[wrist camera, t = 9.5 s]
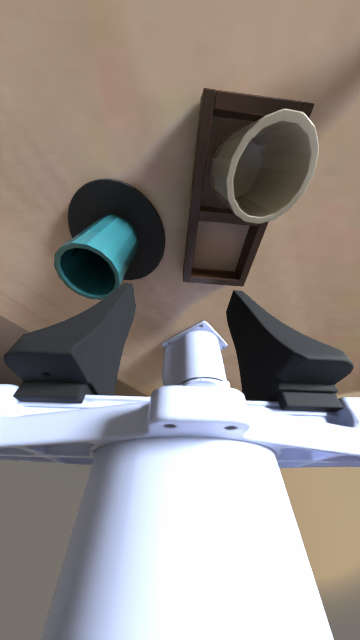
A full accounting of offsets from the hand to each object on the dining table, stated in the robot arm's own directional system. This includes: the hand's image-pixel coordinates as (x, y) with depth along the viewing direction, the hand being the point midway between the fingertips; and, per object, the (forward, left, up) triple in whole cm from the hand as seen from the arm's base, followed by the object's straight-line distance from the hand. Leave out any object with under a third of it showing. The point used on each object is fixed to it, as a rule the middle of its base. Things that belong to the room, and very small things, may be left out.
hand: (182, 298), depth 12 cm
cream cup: (+8, +3, -10) cm, 13 cm away
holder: (+6, 0, -10) cm, 11 cm away
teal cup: (-5, +5, -9) cm, 12 cm away
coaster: (-5, +5, -10) cm, 12 cm away
